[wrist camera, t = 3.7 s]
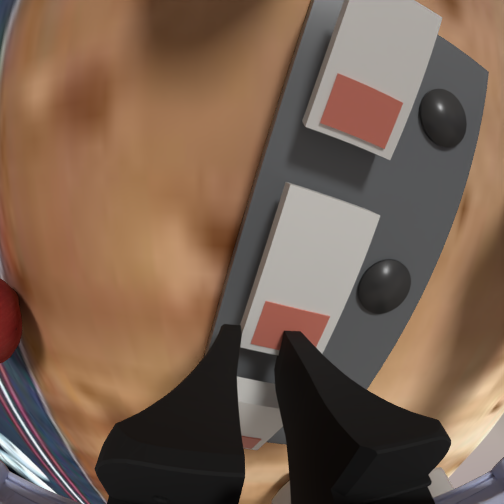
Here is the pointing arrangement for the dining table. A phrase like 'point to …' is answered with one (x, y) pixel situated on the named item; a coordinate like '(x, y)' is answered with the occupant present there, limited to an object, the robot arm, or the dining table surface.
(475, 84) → the power strip
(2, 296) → the onion
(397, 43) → the rocker
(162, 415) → the robot arm
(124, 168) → the dining table surface
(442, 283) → the dining table surface
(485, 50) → the dining table surface
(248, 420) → the rocker
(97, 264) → the dining table surface
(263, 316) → the rocker middle
